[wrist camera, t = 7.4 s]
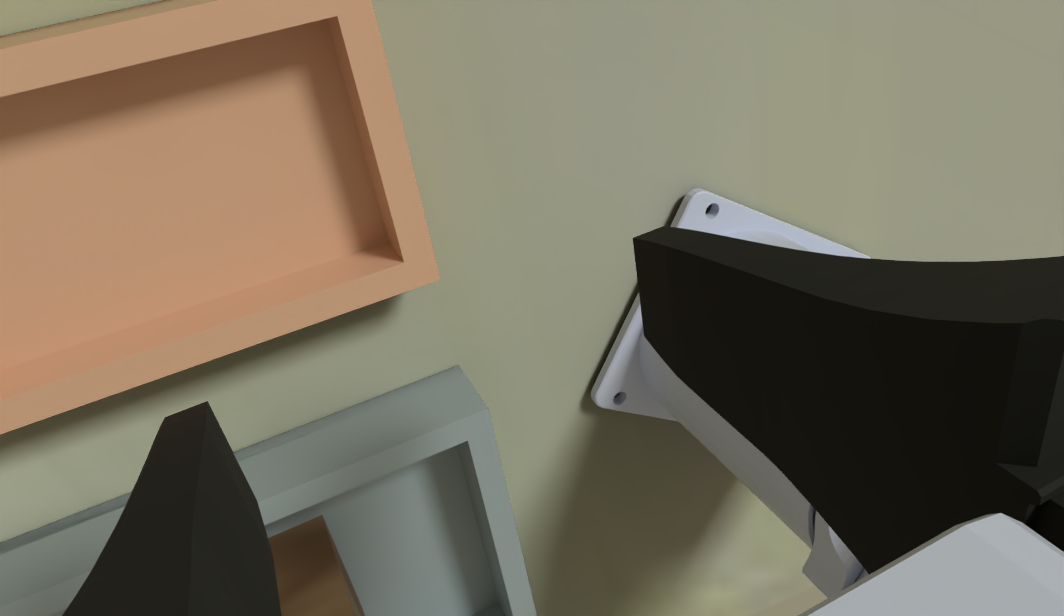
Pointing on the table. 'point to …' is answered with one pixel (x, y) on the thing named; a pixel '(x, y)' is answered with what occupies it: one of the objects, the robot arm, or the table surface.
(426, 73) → the table surface
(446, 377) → the slate tray
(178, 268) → the terracotta holder
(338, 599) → the walnut block
